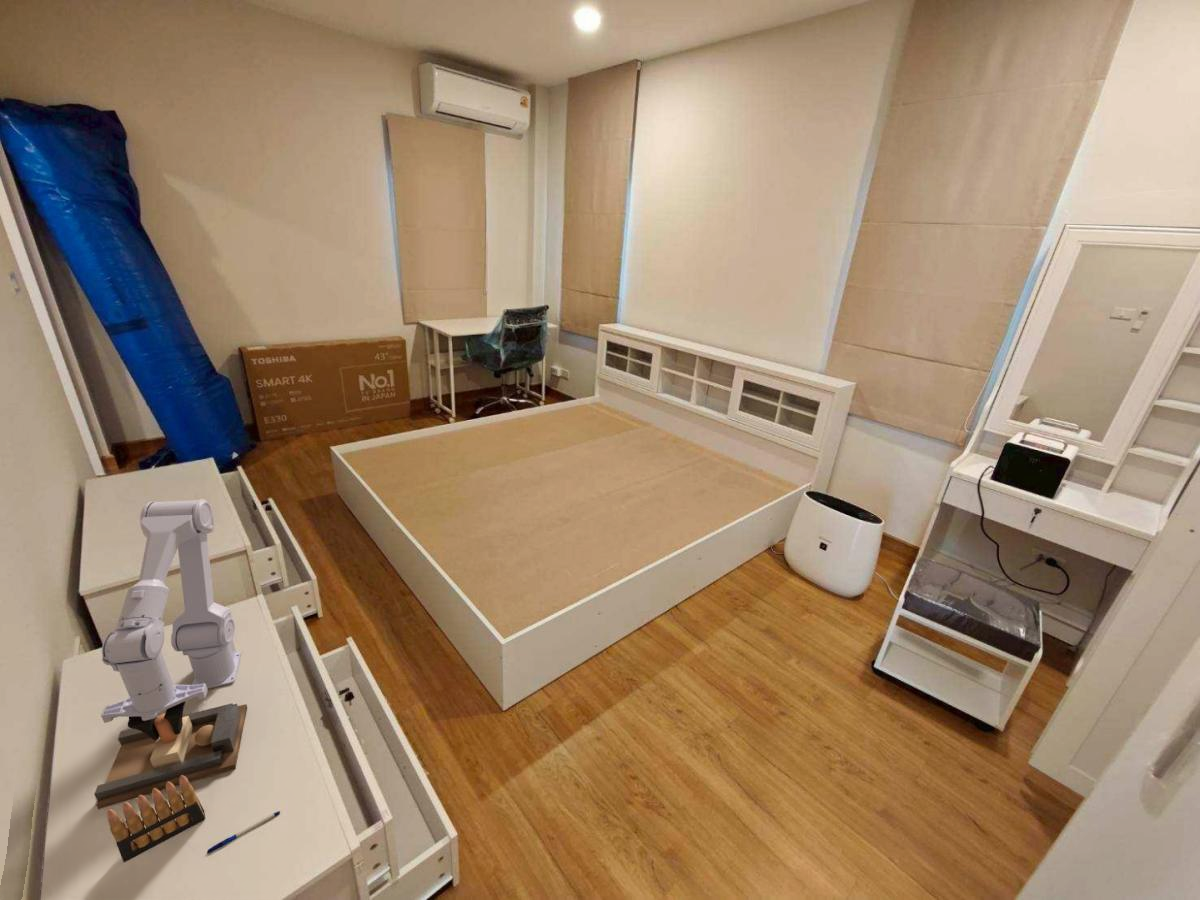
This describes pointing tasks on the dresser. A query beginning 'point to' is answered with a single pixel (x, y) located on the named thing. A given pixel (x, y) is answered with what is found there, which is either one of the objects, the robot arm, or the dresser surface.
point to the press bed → (143, 764)
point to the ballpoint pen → (241, 833)
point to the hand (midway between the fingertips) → (168, 732)
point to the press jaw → (170, 742)
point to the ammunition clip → (155, 819)
